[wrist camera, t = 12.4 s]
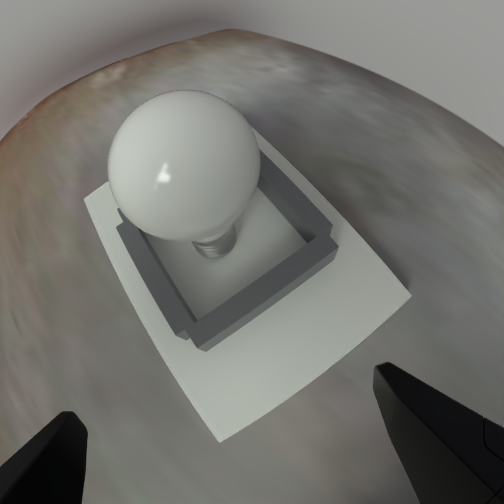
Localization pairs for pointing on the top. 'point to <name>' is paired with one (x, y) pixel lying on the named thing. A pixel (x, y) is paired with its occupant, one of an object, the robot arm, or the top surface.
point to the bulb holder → (253, 295)
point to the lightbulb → (185, 169)
